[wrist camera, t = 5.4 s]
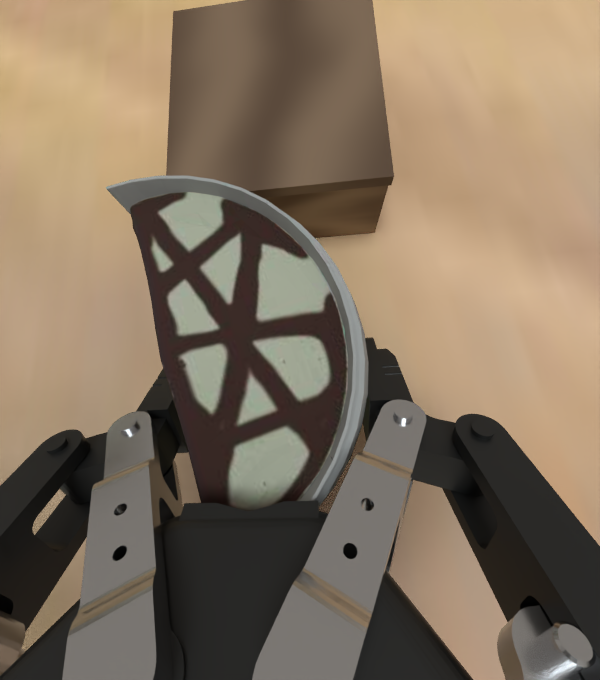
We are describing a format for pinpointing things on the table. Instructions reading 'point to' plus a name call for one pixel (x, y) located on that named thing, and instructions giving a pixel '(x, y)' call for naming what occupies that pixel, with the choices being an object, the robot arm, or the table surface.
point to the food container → (250, 340)
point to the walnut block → (284, 107)
